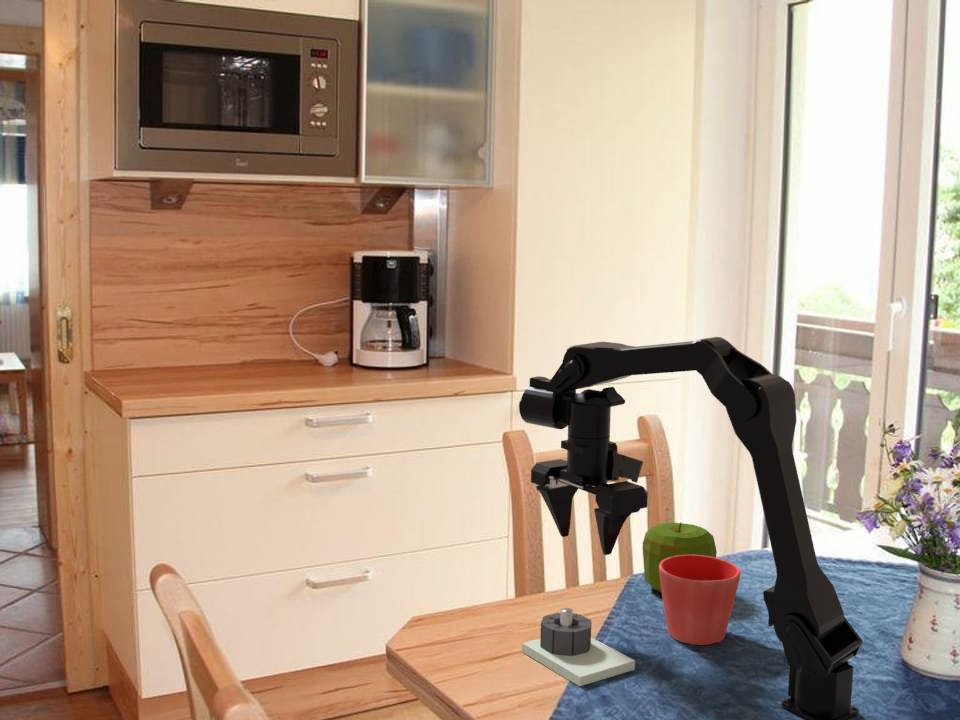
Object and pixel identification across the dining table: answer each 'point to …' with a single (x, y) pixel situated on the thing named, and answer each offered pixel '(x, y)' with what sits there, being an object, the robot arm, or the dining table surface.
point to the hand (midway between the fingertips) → (585, 545)
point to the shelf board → (582, 662)
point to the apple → (673, 546)
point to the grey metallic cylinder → (566, 617)
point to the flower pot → (698, 597)
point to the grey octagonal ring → (565, 635)
